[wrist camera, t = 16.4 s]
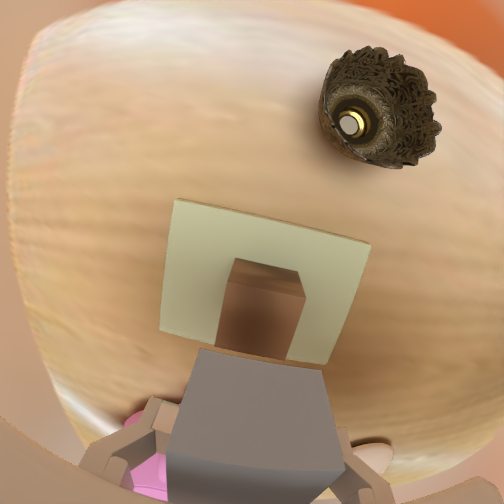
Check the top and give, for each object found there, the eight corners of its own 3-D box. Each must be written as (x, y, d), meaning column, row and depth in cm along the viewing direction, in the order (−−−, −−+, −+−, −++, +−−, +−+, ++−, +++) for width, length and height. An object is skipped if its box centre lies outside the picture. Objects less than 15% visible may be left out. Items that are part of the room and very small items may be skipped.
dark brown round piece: (300, 81, 19) (317, 37, 11) (383, 88, 18) (431, 57, 10) (306, 169, 21) (330, 166, 13) (391, 171, 20) (446, 173, 12)
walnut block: (297, 271, 22) (306, 298, 17) (281, 324, 23) (284, 360, 18) (235, 257, 22) (227, 281, 17) (223, 312, 23) (214, 346, 18)
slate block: (321, 370, 10) (345, 470, 6) (286, 437, 12) (290, 518, 7) (200, 348, 10) (165, 449, 5) (189, 421, 12) (167, 502, 7)
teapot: (88, 352, 27) (26, 428, 14) (269, 395, 27) (269, 506, 14) (116, 447, 33) (89, 506, 20) (243, 477, 33) (237, 546, 20)
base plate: (366, 242, 22) (371, 245, 21) (323, 357, 25) (325, 365, 24) (179, 198, 22) (174, 199, 20) (163, 323, 25) (159, 330, 24)
